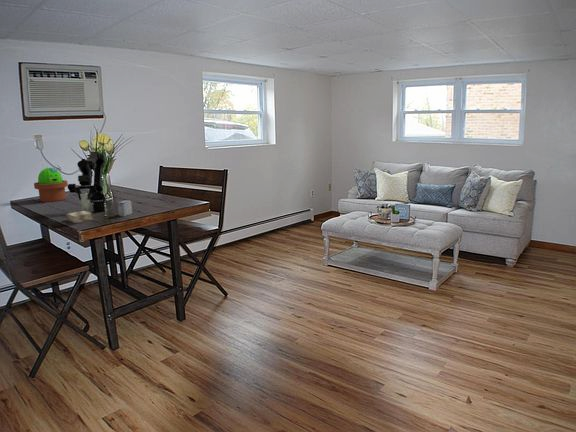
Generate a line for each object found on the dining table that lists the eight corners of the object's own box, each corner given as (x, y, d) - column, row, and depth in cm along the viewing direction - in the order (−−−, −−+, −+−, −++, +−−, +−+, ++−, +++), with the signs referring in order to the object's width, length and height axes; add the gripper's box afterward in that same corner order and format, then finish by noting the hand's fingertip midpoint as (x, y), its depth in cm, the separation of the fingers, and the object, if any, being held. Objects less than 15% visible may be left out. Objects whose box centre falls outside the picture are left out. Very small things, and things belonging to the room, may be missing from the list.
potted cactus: (32, 200, 330) (26, 167, 325) (62, 196, 347) (57, 164, 341) (43, 204, 317) (38, 169, 311) (74, 199, 333) (70, 166, 327)
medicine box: (126, 213, 280) (125, 200, 278) (132, 213, 278) (131, 200, 276) (118, 216, 272) (117, 202, 270) (124, 216, 271) (123, 202, 269)
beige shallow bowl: (85, 216, 272) (84, 210, 271) (93, 219, 265) (92, 213, 264) (67, 220, 264) (66, 213, 263) (74, 222, 257) (73, 216, 256)
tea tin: (83, 209, 260) (81, 192, 258) (91, 208, 261) (89, 192, 259) (81, 211, 256) (78, 194, 254) (89, 210, 257) (87, 193, 254)
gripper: (66, 170, 255) (62, 192, 247) (99, 169, 258) (97, 190, 250) (72, 181, 265) (68, 203, 257) (104, 180, 268) (102, 201, 260)
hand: (84, 199), depth 256 cm, fingers closed on tea tin, 4 cm apart
